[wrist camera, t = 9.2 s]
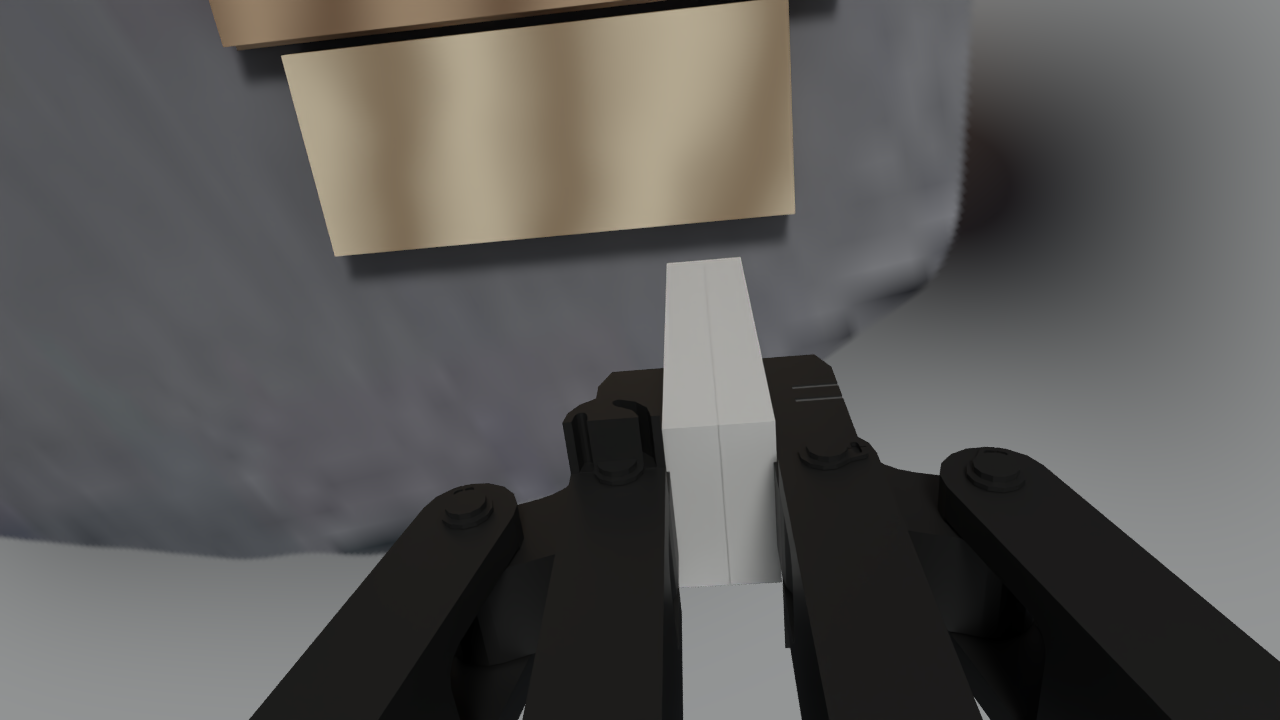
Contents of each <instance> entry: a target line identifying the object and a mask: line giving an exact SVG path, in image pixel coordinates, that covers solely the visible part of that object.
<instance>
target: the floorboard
mask: <svg viewBox="0 0 1280 720" xmlns="http://www.w3.org/2000/svg"><path fill="white" fill-rule="evenodd" d="M657 1H665V0H209V2H210V6H211V9H212V12H213V15H214V19H215V22H216V25H217V28H218V31H219V35H220V38H221V41H222V44H223V47H229V46H236V48H237V50H246V49H254V48H263V47H272V46H280V45H289V44H297V43H306V42H314V41H323V40H331V39H340V38H349V37H357V36H366V35H374V34H383V33H391V32H400V31H408V30H417V29H426V28H434V27H443V26H451V25H460V24H468V23H477V22H485V21H494V20H503V19H511V18H520V17H528V16H537V15H545V14H554V13H562V12H571V11H580V10H588V9H597V8H605V7H614V6H622V5H631V4H640V3H648V2H657Z"/></svg>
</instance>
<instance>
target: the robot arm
mask: <svg viewBox="0 0 1280 720" xmlns="http://www.w3.org/2000/svg"><path fill="white" fill-rule="evenodd" d="M562 424H563V430H564V435H565V441H566V447H567V453H568V459H569V465H570V471H571V477H570V482H569V486H567V487H566V488H564V489H563V490H561V491H559V492H557V493H555V494H553V495H550V496H547V497H544V498H541V499H538V500H534V501H531V502H527V503H523V504H520V505H517V502H516V499H515V496H514V494H513V493H512V492H510V491H509V490H508V489H506V488H505V487H503V486H498V485H494V484H490V483H486V484H470V485H464V486H460V487H457V488H454V489H452V490H450V491H448V492H446V493H444V494H442V495H440V496H438V497H436V498H435V499H434V500H432V501H431V502H430V503H429V504H428V505H427V506H425V507H424V508H423V510H422V511H421V512H420V513H419V514H418V516H417V517H416V518H415V519H414V520H413V522H412V523H411V524H410V525H409V526H408V528H407V529H406V530H405V531H404V533H403V534H402V535H401V536H400V537H399V539H398V540H397V541H396V542H395V543H394V545H393V546H392V547H391V548H390V550H389V551H388V552H387V553H386V554H385V556H384V557H383V558H382V559H381V560H380V562H379V563H378V564H377V565H376V567H375V568H374V569H373V570H372V571H371V573H370V574H369V575H368V576H367V578H366V579H365V580H364V581H363V582H362V583H361V585H360V586H359V587H358V588H357V590H356V591H355V592H354V593H353V594H352V596H351V597H350V598H349V599H348V600H347V602H346V603H345V604H344V605H343V606H342V608H341V609H340V610H339V612H338V613H337V614H336V615H335V616H334V617H333V619H332V620H331V621H330V622H329V623H328V625H327V626H326V627H325V628H324V630H323V631H322V632H321V633H320V634H319V636H318V637H317V638H316V639H315V640H314V642H313V643H312V644H311V645H310V646H309V648H308V649H307V650H306V651H305V653H304V654H303V655H302V656H301V657H300V659H299V660H298V661H297V662H296V663H295V665H294V666H293V667H292V668H291V670H290V671H289V672H288V673H287V674H286V676H285V677H284V678H283V679H282V680H281V682H280V683H279V684H278V686H276V688H275V689H274V690H273V691H272V693H271V694H270V695H269V696H268V697H267V699H266V700H265V701H264V702H263V704H262V705H261V706H260V707H259V708H258V709H257V711H256V712H255V713H254V714H253V716H252V717H251V718H250V719H249V720H518V719H519V716H520V714H521V712H522V710H523V708H524V706H525V710H524V715H523V720H683V677H682V611H681V602H680V593H679V588H684V587H702V586H703V587H704V586H722V585H740V584H758V583H774V582H775V583H777V582H782V578H781V571H782V577H783V600H784V626H785V648H790V649H791V655H792V661H793V668H794V674H795V680H796V686H797V692H798V699H799V705H800V711H801V717H802V720H983V719H982V716H981V714H980V711H979V709H978V706H977V704H976V702H975V699H976V700H977V702H978V703H979V704H980V706H981V707H982V708H983V710H984V711H985V713H986V714H987V716H988V717H989V718H990V720H1280V661H1278V660H1277V659H1276V658H1275V657H1274V656H1272V655H1271V654H1270V653H1269V652H1268V651H1266V650H1265V649H1264V648H1263V647H1262V646H1260V645H1259V644H1258V643H1257V642H1255V641H1254V640H1253V639H1252V638H1250V636H1248V635H1247V634H1246V633H1245V632H1243V631H1242V630H1241V629H1240V628H1238V627H1237V626H1236V625H1235V624H1234V623H1233V622H1231V621H1230V620H1229V619H1228V618H1227V617H1225V616H1224V615H1223V614H1222V613H1221V612H1219V611H1218V610H1217V609H1216V608H1215V607H1213V606H1212V605H1211V604H1210V603H1209V602H1207V601H1206V600H1205V599H1204V598H1203V597H1201V596H1200V595H1199V594H1198V593H1197V592H1195V591H1194V590H1193V589H1192V588H1191V587H1189V586H1188V585H1187V584H1186V583H1185V582H1183V581H1182V580H1181V579H1180V578H1178V577H1177V576H1176V575H1175V574H1174V573H1172V572H1171V571H1170V570H1169V569H1168V568H1166V567H1165V566H1164V565H1163V564H1162V563H1160V562H1159V561H1158V560H1157V559H1156V558H1154V557H1153V556H1152V555H1151V554H1150V553H1148V552H1147V551H1146V550H1145V549H1144V548H1142V547H1141V546H1140V545H1139V544H1138V543H1136V542H1135V541H1134V540H1133V539H1132V538H1130V537H1129V536H1128V535H1127V534H1125V533H1124V532H1123V531H1122V530H1121V529H1119V528H1118V527H1117V526H1116V525H1115V524H1113V523H1112V522H1111V521H1110V520H1108V519H1107V518H1106V517H1105V516H1104V515H1103V514H1101V513H1100V512H1099V511H1098V510H1097V509H1095V508H1094V507H1093V506H1092V505H1091V504H1089V503H1088V502H1087V501H1086V500H1085V499H1083V498H1082V497H1081V496H1080V495H1078V494H1077V493H1076V492H1075V491H1074V490H1073V489H1071V488H1070V487H1069V486H1068V485H1066V484H1065V483H1064V482H1063V481H1062V480H1061V479H1059V478H1058V477H1057V476H1056V475H1054V474H1053V473H1052V472H1051V471H1050V470H1048V469H1047V468H1046V467H1045V466H1044V465H1042V464H1040V463H1039V462H1037V461H1036V460H1034V459H1032V458H1030V457H1029V456H1027V455H1024V454H1020V453H1018V452H1014V451H1011V450H1008V449H1003V448H994V447H981V448H969V449H964V450H961V451H959V452H956V453H953V454H951V455H950V456H949V457H947V458H946V459H945V460H944V461H943V462H942V463H941V469H940V475H932V474H923V473H916V472H910V471H905V470H900V469H896V468H893V467H890V466H887V465H884V464H883V463H881V462H880V460H879V457H878V455H877V452H876V451H875V450H874V449H873V447H872V446H871V445H870V444H869V443H868V442H866V441H865V440H863V439H861V438H859V437H858V436H857V434H856V431H855V428H854V426H853V423H852V420H851V418H850V415H849V413H848V410H847V407H846V405H845V402H844V399H843V398H842V394H841V391H840V389H839V386H838V385H837V381H836V378H835V375H834V373H833V370H832V367H831V366H829V365H828V364H827V363H825V362H824V361H822V360H821V359H820V358H818V357H817V356H816V355H814V354H813V355H800V356H787V357H774V358H762V356H761V352H760V347H759V342H758V338H757V333H756V328H755V323H754V319H753V314H752V309H751V305H750V300H749V295H748V290H747V286H746V281H745V276H744V272H743V267H742V262H741V258H740V257H734V258H723V259H712V260H700V261H689V262H677V263H667V277H666V310H665V343H664V368H660V369H647V370H634V371H621V372H612V373H611V374H610V375H609V376H608V377H607V378H606V379H605V380H604V381H603V383H602V384H601V385H600V386H599V387H598V392H597V397H596V399H594V400H591V401H589V402H586V403H583V404H581V405H579V406H578V407H576V408H575V409H573V410H572V411H571V412H569V413H568V414H567V416H566V418H565V419H564V421H563V423H562ZM974 697H975V699H974ZM525 704H526V705H525Z"/></svg>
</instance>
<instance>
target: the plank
mask: <svg viewBox="0 0 1280 720" xmlns="http://www.w3.org/2000/svg"><path fill="white" fill-rule="evenodd" d="M281 58H282V62H283V65H284V69H285V73H286V76H287V80H288V84H289V88H290V91H291V95H292V99H293V102H294V106H295V110H296V113H297V117H298V121H299V125H300V128H301V132H302V136H303V139H304V143H305V147H306V150H307V154H308V158H309V162H310V165H311V169H312V173H313V176H314V180H315V184H316V187H317V191H318V195H319V199H320V202H321V206H322V210H323V213H324V217H325V221H326V224H327V228H328V232H329V236H330V239H331V243H332V247H333V250H334V254H335V256H345V255H356V254H367V253H378V252H388V251H399V250H410V249H421V248H431V247H442V246H453V245H464V244H474V243H485V242H496V241H507V240H517V239H528V238H539V237H550V236H560V235H571V234H582V233H593V232H603V231H614V230H625V229H636V228H646V227H657V226H668V225H679V224H690V223H700V222H711V221H722V220H733V219H743V218H754V217H765V216H776V215H786V214H795V194H794V162H793V130H792V97H791V65H790V33H789V0H748V1H739V2H730V3H722V4H713V5H705V6H696V7H687V8H679V9H670V10H661V11H653V12H644V13H635V14H627V15H618V16H610V17H601V18H592V19H584V20H575V21H566V22H558V23H549V24H540V25H532V26H523V27H515V28H506V29H497V30H489V31H480V32H471V33H463V34H454V35H446V36H437V37H428V38H420V39H411V40H402V41H394V42H385V43H376V44H368V45H359V46H351V47H342V48H333V49H325V50H316V51H307V52H299V53H293V54H288V55H282V56H281Z"/></svg>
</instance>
